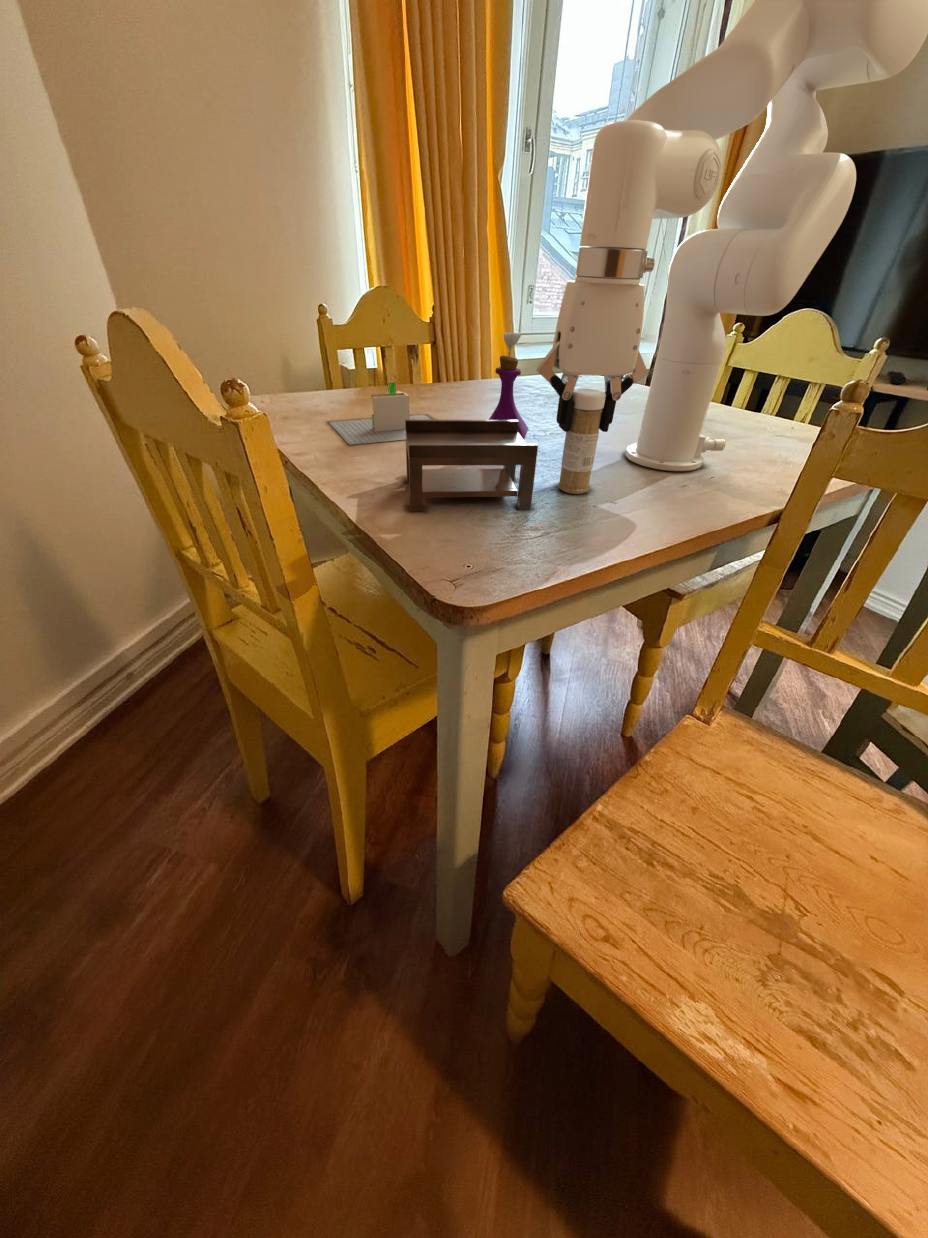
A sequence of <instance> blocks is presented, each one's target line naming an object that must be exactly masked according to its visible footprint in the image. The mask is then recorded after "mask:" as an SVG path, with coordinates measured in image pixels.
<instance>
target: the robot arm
mask: <svg viewBox="0 0 928 1238" xmlns="http://www.w3.org/2000/svg"><path fill="white" fill-rule="evenodd" d="M927 36H928V0H754V1H753V2H752V4H751V6H750V7H749V8H748V9H747V10H746V12H745V13H744V15H743V16H742V17H741V18H740V20H738V22H737V23H736V24H735V26H734V27H733V29H732V30H731V31H730V32H729V33H728V34H727V36H726V37H725V38H724V40H723V41H722V42H721V44H719V46H718V47H717V48H716V49H714V50H713V51H712V52H710V53H708V54H707V55H705V56H703V57H702V58H701V59H699V60H698V61H696V62H694V63H693V64H692V65H691V66H690V67H689V68H687V69H686V70H684V71H683V72H682V73H680V74H679V75H678V76H676V77H675V78H673V79H672V80H671V81H669V82H667V83H666V84H664V85H663V86H662V87H660V88H659V89H657V90H656V91H655V92H653V94H651V95H650V96H649V97H648V98H646V99H645V100H644V101H643V102H642V103H641V104H640V105H639V106H638V107H637V108H635V110H634V111H633V112H632V113H631V114H630V115H629V116H628V117H627V119H626V120H625V119H624V120H618V121H612V122H609V123H607V124H605V125H603V126H602V127H601V128H600V129H599V130H598V132H597V134H596V135H595V138H594V141H593V146H592V152H591V159H590V166H589V173H588V181H587V188H586V194H585V195H586V196H585V202H584V211H583V218H582V227H581V234H580V242H579V248H578V254H577V255H578V256H577V263H576V270H575V279H574V280H567V283H566V285H565V289H564V292H563V296H562V298H561V299H562V300H561V304H560V307H559V313H558V316H557V322H556V326H555V332H554V337H553V342H552V347H551V349H550V350H549V351H548V353H547V354H546V356H544V358H543V359H542V360H541V361H540V363H539V364H538V365H537V367H536V371H537V373H538V374H539V375H541V377H542V378H543V379H545V380H546V382H547V383H549V385H550V386H551V387H552V388H553V389H554V392H555V393H556V394H557V395H558V396H559V397H558V403H557V411H556V423H557V424H558V427H559V428H560V429H561V430H562V431H563V432H565V433H566V432H569V431H570V428H571V422H572V415H573V409H574V401H573V400H572V393H573V390H575V389H576V388H575V387H576V385H577V383H578V380H579V377H580V376H597V377H604V378H603V379H604V392H605V394H606V399H605V405H604V408H603V411H602V414H601V419H600V426H599V431H601V432H603V433H608V432H609V429H610V428H609V427H610V425H612V422H613V419H614V414H615V410H616V404H617V401H619V400H620V399H621V397H622V395H624V394H625V393H626V392H627V391H628V390H629V389H630V388H631V387H632V386H633V384H635V383H637V382H638V381H640V380H641V379H643V378H644V377H645V376H646V375H647V374H648V369H647V367H646V364H645V361H644V360H643V359H644V358H643V357H642V355H641V351H640V345H641V338H642V332H643V323H644V312H645V284H643V283H641V279H643V277H644V274H646V273H652V272H653V271H654V268H655V264H656V260H655V258H654V257H653V258H651V257H649V256H648V250H647V248H648V242H649V237H650V233H651V228H652V222H653V220H661V219H663V220H664V219H665V220H666V219H668V220H669V219H671V220H672V219H681V218H682V219H683V218H687V217H690V216H692V215H695V214H696V213H699V211H701V210H702V209H703V208H704V207H705V206H706V205H708V203H709V202H710V201H711V200H712V198H713V197H714V195H715V193H716V191H717V190H718V186H719V185H720V181H721V178H722V172H723V156H722V155H723V154H722V151H721V148H720V146H719V143H718V142H717V140H719V139H722V138H724V137H726V136H728V135H730V134H732V133H735V132H736V131H739V130H741V129H742V128H744V127H746V126H748V125H749V124H751V123H753V122H754V121H755V120H756V119H757V118H758V117H759V116H760V115H762V113H764V111H765V110H766V109H767V116H766V122H765V123H766V124H765V128H764V131H763V132H762V135H761V137H760V138H759V140H758V142H757V143H756V145H755V147H754V148H753V150H752V151H751V152H750V155H748V158H747V159H746V160H745V162H744V164H743V166H742V167H741V169H740V170H739V172H738V173H737V175H736V176H735V178H734V179H733V181H732V183H731V185H730V186H729V188H728V189H727V191H726V193H725V195H724V196H723V199H722V201H721V204H720V205H719V208H718V212H717V217H716V218H717V219H716V225H717V228H711V229H706V230H702V231H698V232H695V233H693V234H691V235H690V236H688V237H686V239H684V240H683V241H682V242H681V243H680V244H679V245H678V247H677V248H676V250H675V252H673V255H672V258H671V261H670V264H669V268H668V274H667V284H666V285H667V286H666V305H665V312H664V320H663V324H662V325H663V326H662V332H661V336H660V342H659V345H658V351H657V353H656V358H655V363H654V368H653V372H652V376H651V381H650V385H649V389H648V393H647V398H646V403H645V406H644V407H645V408H644V411H643V416H642V420H641V425H640V429H639V434H638V438H637V442H635V443H632V444H630V445H628V446H627V447H626V450H625V456H626V458H627V459H628V460H629V461H631V462H633V463H635V464H636V465H640V466H643V467H646V468H649V469H655V470H658V471H659V470H660V471H669V472H690V471H694V470H697V469H699V468H701V467H702V465H703V462H704V457H703V455H702V454H704V453H706V452H708V451H710V452H723V451H724V449H725V447H726V440H725V439H724V438H712V439H711V437H710V436H706V435H704V434H702V431H703V428H704V424H705V420H706V417H707V414H708V411H709V408H710V403H711V400H712V396H713V393H714V391H715V390H714V389H715V386H716V383H717V379H718V376H719V372H720V369H721V367H722V363H723V359H724V357H725V352H726V347H727V346H726V345H727V337H726V331H725V328H724V324H723V320H722V317H721V314H734V315H744V316H757V317H758V316H759V317H766V316H772V315H775V314H777V313H779V312H780V311H782V310H783V309H784V308H786V306H787V305H788V304H789V303H790V302H791V301H792V300H793V298H794V297H795V296H796V294H797V293H798V292H799V290H800V289H801V287H802V286H803V284H804V282H805V281H806V279H807V278H808V276H809V275H810V274H811V271H812V270H813V269H814V267H815V265H816V264H817V262H818V261H819V259H820V258H821V257H822V255H823V254H824V252H825V250H826V249H827V247H828V246H829V244H830V243H831V241H832V239H833V238H834V236H835V235H836V233H837V231H838V230H839V228H840V226H841V225H842V223H843V221H844V219H845V218H846V215H847V212H848V211H849V208H850V205H851V202H852V200H853V196H854V193H855V188H856V183H857V169H856V165H855V162H854V161H853V159H852V158H851V157H850V156H848V155H847V154H845V153H842V152H832V151H830V152H824V151H825V148H826V146H827V143H828V137H829V128H828V125H827V120H826V116H825V113H824V110H823V109H822V107H821V105H820V103H819V102H818V100H817V98H816V96H817V95H816V94H817V91H823V90H828V89H834V88H840V87H841V88H842V87H847V86H853V85H855V86H856V85H860V84H866V83H867V84H868V83H873V82H880V81H883V80H887V79H890V78H893V77H895V76H896V75H898V74H899V73H901V72H902V71H903V70H904V69H905V68H907V67H908V66H909V65H910V64H911V62H912V61H914V59H915V57H916V56H917V54H918V53H919V52H920V50H921V48H922V46H923V45H924V43H925V41H926V39H927ZM553 368H556V369H558V370H560V372H562V374H561V377H560V376H558V375H557V374H556V373H555V372H554V369H553Z"/></svg>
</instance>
